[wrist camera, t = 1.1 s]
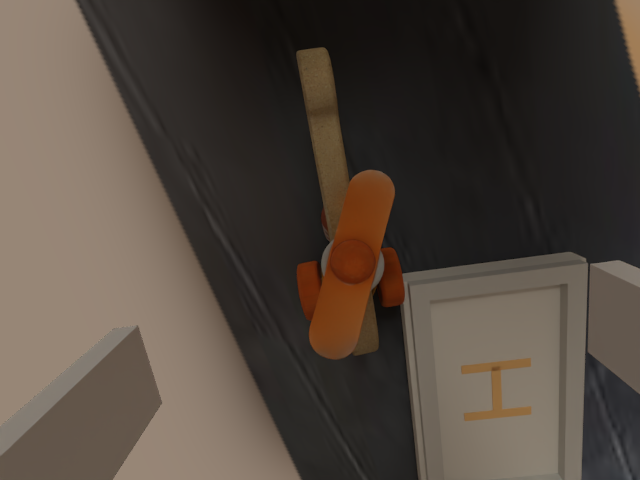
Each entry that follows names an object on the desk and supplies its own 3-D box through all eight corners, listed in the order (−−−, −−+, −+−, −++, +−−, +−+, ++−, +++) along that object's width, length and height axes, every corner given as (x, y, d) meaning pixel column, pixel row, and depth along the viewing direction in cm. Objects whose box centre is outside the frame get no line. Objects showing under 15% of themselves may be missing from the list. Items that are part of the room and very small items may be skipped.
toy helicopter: (311, 316, 34) (299, 425, 21) (260, 79, 29) (203, 24, 16) (399, 301, 34) (444, 404, 20) (363, 57, 29) (392, -18, 15)
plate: (397, 274, 33) (403, 286, 30) (570, 251, 32) (594, 262, 29) (418, 480, 39) (425, 507, 36) (566, 466, 38) (586, 493, 35)
